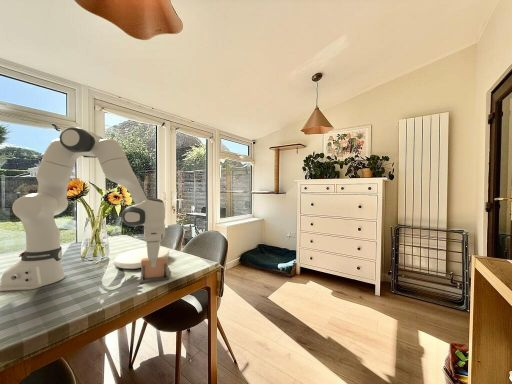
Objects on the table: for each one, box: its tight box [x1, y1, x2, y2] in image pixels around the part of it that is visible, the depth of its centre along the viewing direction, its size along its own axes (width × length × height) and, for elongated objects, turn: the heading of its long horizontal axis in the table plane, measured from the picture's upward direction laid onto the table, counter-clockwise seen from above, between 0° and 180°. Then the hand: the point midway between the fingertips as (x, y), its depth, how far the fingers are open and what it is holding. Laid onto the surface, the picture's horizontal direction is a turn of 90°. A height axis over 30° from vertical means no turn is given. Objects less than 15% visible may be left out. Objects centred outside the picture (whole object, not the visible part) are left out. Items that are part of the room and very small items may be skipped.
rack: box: [139, 256, 170, 284], centre depth 108 cm, size 12×13×7 cm
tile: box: [140, 256, 169, 279], centre depth 105 cm, size 11×3×8 cm, turn 110°
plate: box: [113, 246, 170, 270], centre depth 127 cm, size 28×6×27 cm
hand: (154, 263), depth 105 cm, fingers open, 8 cm apart
